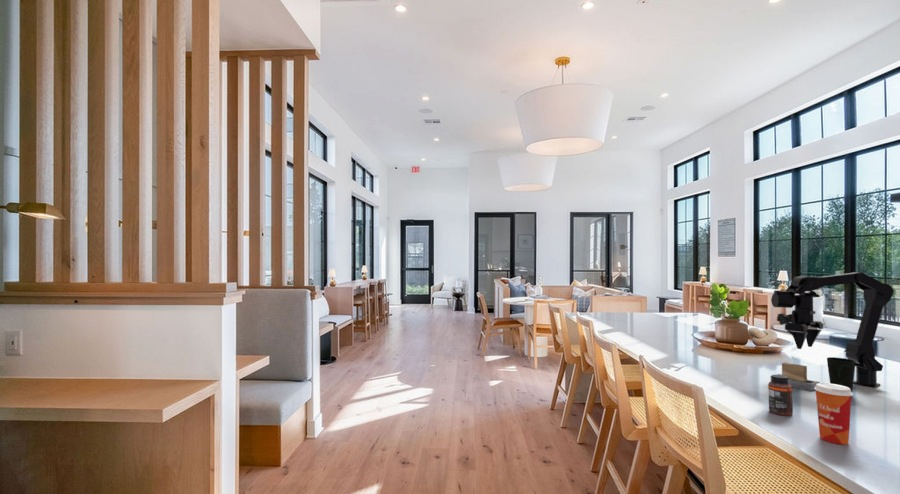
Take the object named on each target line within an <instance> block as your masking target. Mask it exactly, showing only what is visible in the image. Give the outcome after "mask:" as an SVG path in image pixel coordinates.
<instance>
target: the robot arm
mask: <svg viewBox="0 0 900 494" xmlns="http://www.w3.org/2000/svg"><path fill="white" fill-rule="evenodd" d="M847 284H854V285H855V286H856V287H857V288H858V289H860V290H861V291H863V295H862V296H863V300H864V303H865V305H864V309H863V312H862V315H861V316H862V317H861V320H860V323H859V328H858V330H857V334H856V337H855V340H853V341H852V342H850V341H847V343H846V347H845V349H844V351H843V352H844V353H845V357H846V359H850V360H854V361H855V373H856V374H855V375H856V376H855V377H856V379H855V380H854V381H853V384H855V385H860V386H866V387H872V388H876V387H879V386H881V385H882V384H881V383H878V381H877V377H878V376H877V372H881V371H882V370H883V367H884V365H883V364H882V363H880V362H879V361H878V360H877V359H876V350H875V347H874V341H875V338H876V337H875V336H876V333H877V331H878V330H877V329H878V326H879V322H880V319H881V316H882V313H883V309H884V308H885V306H886V305H887V304H889V302H890V301H891V299H892V297H893V296H894V293H895V291H894V288H893V287H892V286H891V285H890V284H888V283H883V282H882V281H880V280H878V279H875V278H874V277H871V276H869V275H867V274H866V273H864V272H859V271H857V272H856V271H853V272H849V273H839V274H833V275H832V274H831V275H824V276H823V275H822V276H805V275H804V276H798V275H797V276H795V277H793V279H792V281H791V283H790V285H789V286H788V287H787V288H786V290H775V289H774V291H773V294H772V296H771V299H770V300H771V301H770V303H771V305H772V307H773V308H780V309H781V308H784V309H786V308H787V309H788V308H789V309H790V308H792V311H791V313H790V314H789V313H788V314H785V313H784V312H783V313H777V317H776V321H778V323H779V325H784V330H785V331H786V332H787V333H789V334H790V335H792V337H793V340H794V342H795V345H796V348H797V349H799V350H802V348H803V346H804V343H805V341H806V344H807V347H809V348H812V347H813V345H814V343H815V341H816V340H817V338H818V336H820V334H821V332H822V330H823V329H824V323H823V322H821V321H819V320H814V315H816V310H814V298H820V297H821V296H820V295H819V294H818V293H817V292H816V290H819V289H821V288H822V289H823V288H824V287H830V286H839V285H847ZM793 308H794V310H793Z"/></svg>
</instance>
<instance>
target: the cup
mask: <svg viewBox="0 0 900 494" xmlns="http://www.w3.org/2000/svg"><path fill="white" fill-rule="evenodd" d="M826 362H827V369H828V377H829V383H831V384H837V385H842V386H846V387H848V388H850V389H851V392H852V393H853V389H854V383H853V382H854V381H855V373H856V366H855V361H854V360H850V359H848V358H845V357H831V356H830V357H826Z"/></svg>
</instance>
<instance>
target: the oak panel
mask: <svg viewBox="0 0 900 494" xmlns="http://www.w3.org/2000/svg"><path fill="white" fill-rule="evenodd" d="M807 368H808V366H807V365H802V364H795V363H790V362H781V374H782V375H783V376H787V377H788V379H792V380H797V381H802V382H806V383H807V380H808V369H807Z"/></svg>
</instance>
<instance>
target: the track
mask: <svg viewBox="0 0 900 494" xmlns="http://www.w3.org/2000/svg"><path fill="white" fill-rule="evenodd" d="M776 375H782V373H778V374H777V373H776ZM771 381H772V375H771V376H770V382H771ZM788 383H789V384H790V385H791V386H792V388H794V389H795V388H796V389H800V390H804V391H809V392H814V391H816V390H815V389H814V388H815V387H816V384H817V383H819V384H820V383H821V382H820V381H815V380H810V379H807V383H806V382H802V381H797V380H792V379H788Z"/></svg>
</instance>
